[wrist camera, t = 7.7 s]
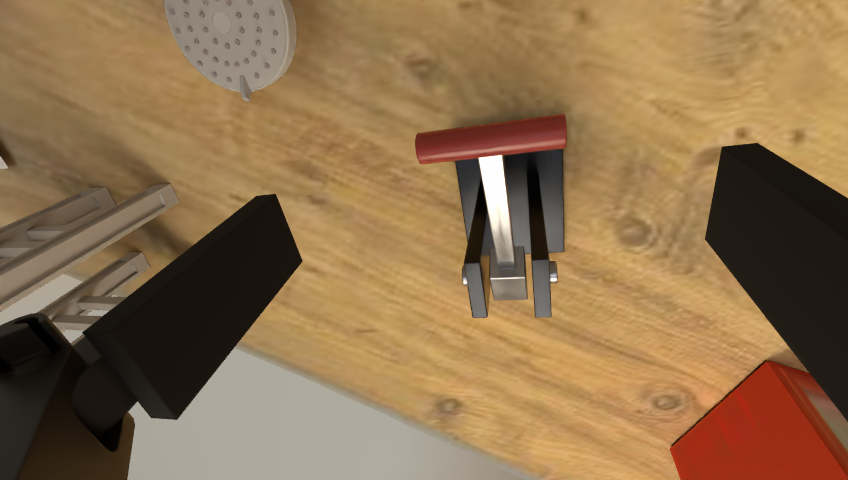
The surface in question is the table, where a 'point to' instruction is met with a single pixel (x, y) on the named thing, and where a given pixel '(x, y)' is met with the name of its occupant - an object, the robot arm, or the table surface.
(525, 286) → the tap lever
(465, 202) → the tap mount
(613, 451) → the table surface
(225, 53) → the showerhead
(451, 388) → the table surface
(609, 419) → the table surface
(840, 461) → the file binder
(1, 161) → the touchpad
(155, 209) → the stool
